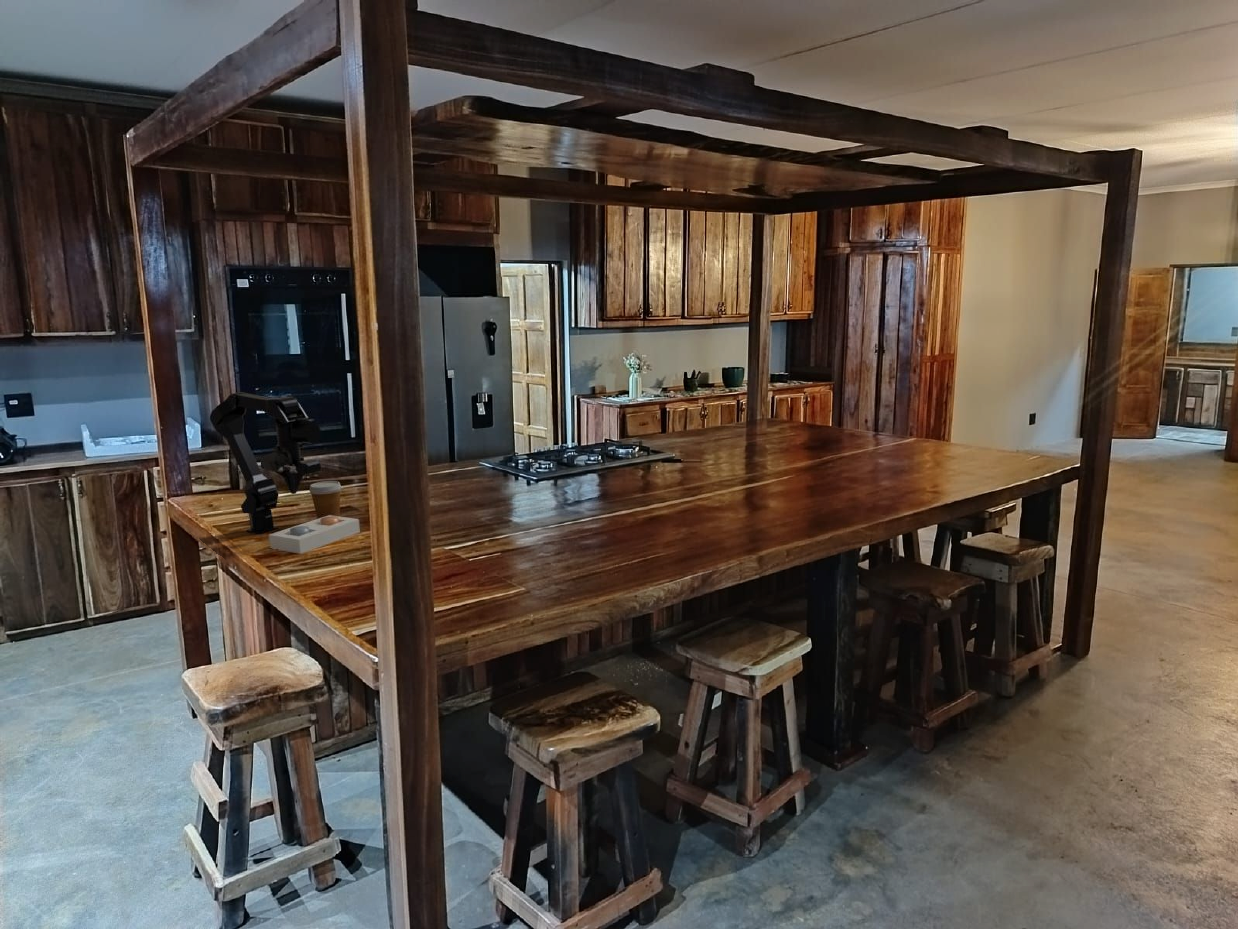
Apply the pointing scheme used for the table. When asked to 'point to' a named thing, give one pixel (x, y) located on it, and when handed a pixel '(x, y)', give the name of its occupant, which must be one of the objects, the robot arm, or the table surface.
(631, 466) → the table surface
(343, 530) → the button panel
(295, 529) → the slate-grey button
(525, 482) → the table surface
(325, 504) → the disposable coffee cup
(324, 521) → the terracotta button
